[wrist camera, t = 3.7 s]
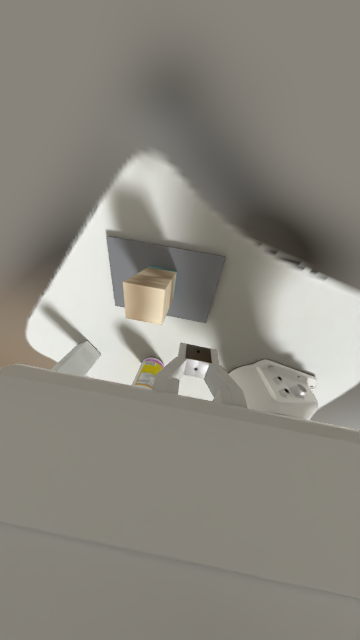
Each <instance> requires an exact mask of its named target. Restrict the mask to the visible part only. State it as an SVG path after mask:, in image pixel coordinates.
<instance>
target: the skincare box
mask: <svg viewBox="0 0 360 640" xmlns="http://www.w3.org/2000/svg"><path fill="white" fill-rule="evenodd" d="M100 356H101V354H100V353H99V352H98V351H97V350H96V349H95V348H94V347H93V346H92V345H91V344H90V343H89V342H88V341H85V342H82V343H80V344H78V345H77V346H76V347H75V348H74V349H72V350H71V351H70V352H69V353H68V354H67V355H66V356H65V357H64V358H63V359H62V360H61V361H59V362H58V363H57V364H56V365H55V366H54V367H53V368H52V369H51V370H53V371H58V372H64V373H69V374H74V375H79V376H85V375H86V374H87V372H88V371H89V370H90V369H91V367H92V366H93V365H94V363H95V362H96V361H97V360H98V358H99V357H100Z"/></svg>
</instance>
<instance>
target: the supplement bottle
mask: <svg viewBox="0 0 360 640" xmlns="http://www.w3.org/2000/svg"><path fill="white" fill-rule="evenodd" d="M163 368H164V364H163V363H162V362H161V361H160V360H159V359H157V358H152V357H150V358H146V359H144V360H143V362H142V364H141V366H140V368H139V370H138V373H137V375H136V377H135V379H134V381H133V384H132V386H136V387H141V388H146V389H151V390H152V387H153V384H154V381H155V377H156V374H157V373H158V372H159V371H161V370H162V369H163Z"/></svg>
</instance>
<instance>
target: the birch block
mask: <svg viewBox="0 0 360 640" xmlns="http://www.w3.org/2000/svg"><path fill="white" fill-rule="evenodd" d="M176 277H177V271H174V270H168V269H163V268H157V267H152V266H149V267H148V268H146V269H144V270H142V271H141V272H139V273H137V274H136V275H134V276H132V277H130V278H129V279H127V280H125V281H124V282H123V290H124V302H125V313H126V318H128V319H133V320H138V321H143V322H149V323H154V324H159V325H162V323H163V321H164V319H165V317H166V314H167V312H168V310H169V307H170V305H171V303H172V300H173V298H174V293H175V285H176Z"/></svg>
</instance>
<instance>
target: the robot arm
mask: <svg viewBox="0 0 360 640" xmlns="http://www.w3.org/2000/svg"><path fill="white" fill-rule="evenodd" d="M183 375H188V376H194V377H199V378H203V379H204V380H205V382H206V384H207V386H208V387H209V389H210V391H211V393H212V395H213V396H214V399H213V401H208V400H202V399H197V398H192V397H187V396H182V395H178V389H179V380H180V378H181V377H182V376H183ZM316 386H317V379H316V378H315V377H314V376H311V375H308V374H306V373H303V372H300V371H297V370H295V369H292V368H289V367H286V366H284V365H281V364H278V363H275V362H273V361H270V360H266V359H264V360H261V361H258V362H256V363H254V364H252V365H247V366H242V367H239V368H237V369H234V370H233V371H231V372H230V373H229V374H228V373H227V372H226V371H225V370H224V368H223V367H222V366H221V365H219V361H218V355H217V350H216V349H211V348H205V347H200V346H195V345H190V344H185V343H180V347H179V352H178V357H176V358H175V359H173V360H172V361H171V362H170V363H169V364H168V365H166V366H165V367H164V368H163V369H162V370H161V371H159V372H158V373H157V374H156V377H155V381H154V384H153V387H152V390H151V389H146V388H141V387H136V386H131V385H125V384H120V383H115V382H110V381H105V380H100V379H95V378H89V377H84V376H79V375H74V374H69V373H64V372H58V371H53V370H48V369H43V368H38V367H33V366H28V365H23V364H13V365H9V366H6V367H2V368H0V640H360V430H357V429H352V428H346V427H341V426H336V425H331V424H326V423H321V422H315V421H311V420H310V418H311V417H312V416H313V414H314V413H315V412H316V410H317V407H318V403H317V400H316V397H315V396H314V394H313V391H314V389H315V388H316Z"/></svg>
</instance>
